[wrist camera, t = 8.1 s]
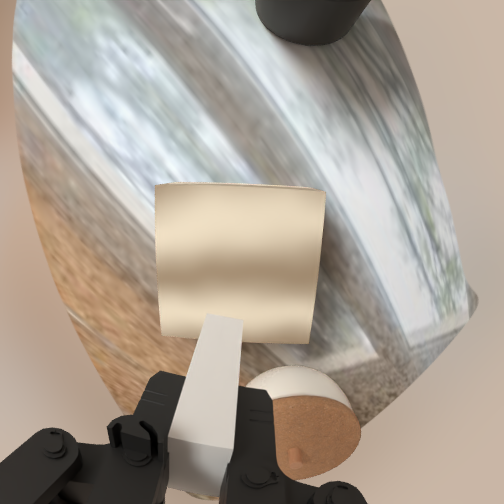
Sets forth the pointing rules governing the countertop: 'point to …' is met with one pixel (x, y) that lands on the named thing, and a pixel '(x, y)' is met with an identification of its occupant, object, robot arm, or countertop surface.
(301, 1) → the black cup
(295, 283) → the riser block
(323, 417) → the lidded bowl
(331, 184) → the countertop surface
